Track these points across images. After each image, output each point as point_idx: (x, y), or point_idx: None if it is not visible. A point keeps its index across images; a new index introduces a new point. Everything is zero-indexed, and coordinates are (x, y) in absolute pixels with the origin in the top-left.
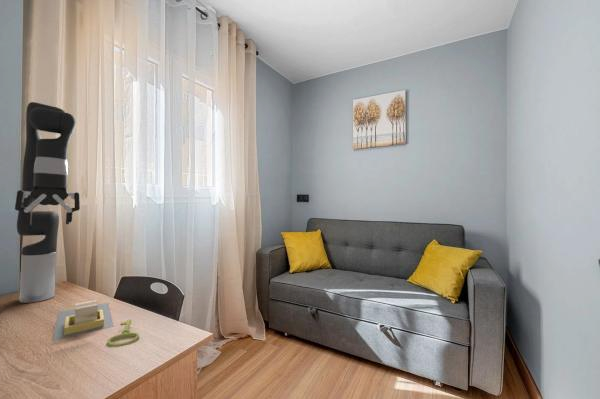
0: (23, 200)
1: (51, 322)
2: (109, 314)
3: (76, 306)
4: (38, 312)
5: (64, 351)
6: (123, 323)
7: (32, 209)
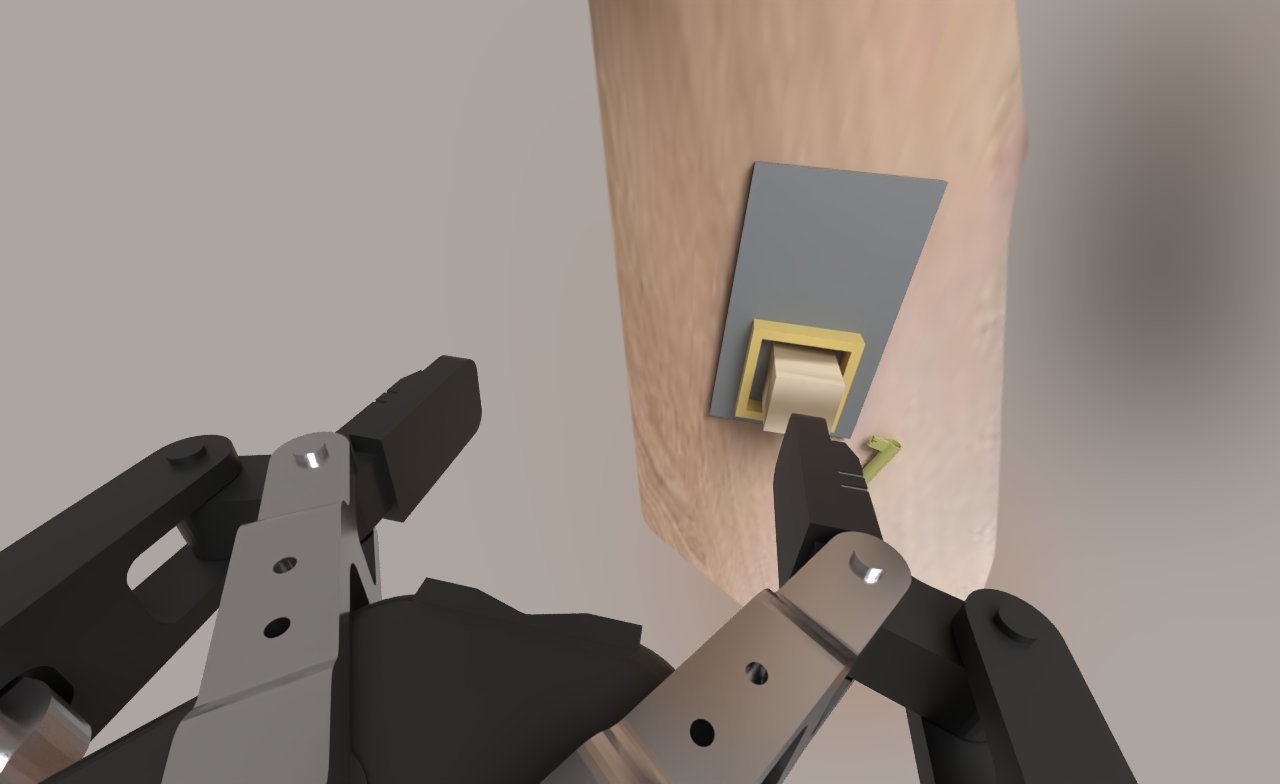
0: (63, 586)
1: (725, 234)
2: (883, 340)
3: (772, 407)
4: (696, 47)
5: (727, 460)
6: (876, 447)
7: (355, 490)
